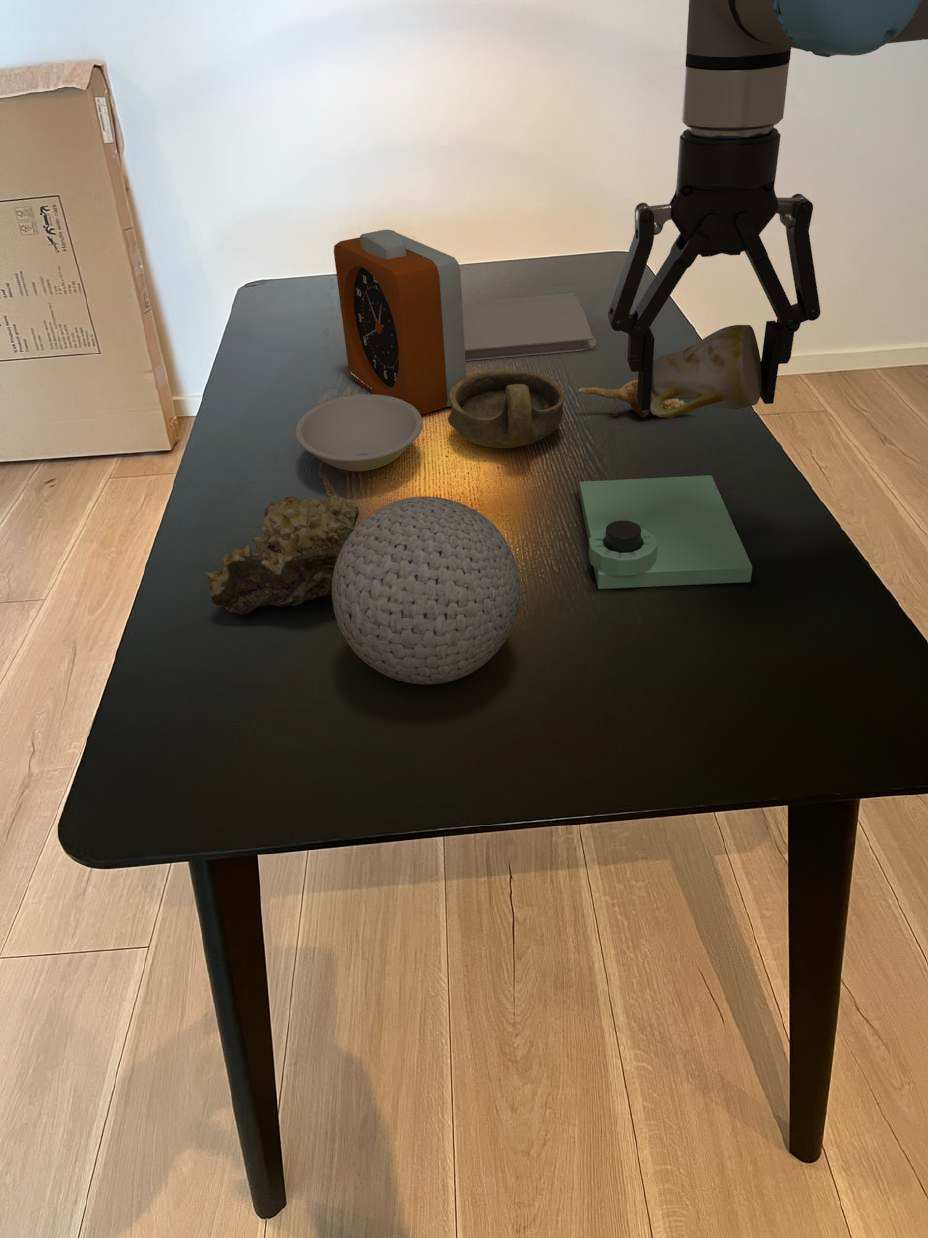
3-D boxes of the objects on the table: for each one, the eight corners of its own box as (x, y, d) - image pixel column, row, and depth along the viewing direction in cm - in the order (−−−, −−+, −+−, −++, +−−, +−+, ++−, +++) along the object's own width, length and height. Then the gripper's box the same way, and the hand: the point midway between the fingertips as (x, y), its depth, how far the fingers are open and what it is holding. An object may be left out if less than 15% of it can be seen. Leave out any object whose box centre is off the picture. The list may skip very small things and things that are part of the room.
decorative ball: (548, 632, 85) (547, 479, 76) (477, 743, 74) (467, 579, 65) (396, 598, 90) (379, 451, 82) (310, 697, 80) (280, 540, 71)
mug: (647, 383, 92) (709, 289, 87) (730, 444, 91) (799, 352, 85) (621, 393, 86) (686, 292, 81) (709, 459, 84) (782, 360, 79)
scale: (752, 585, 89) (756, 553, 87) (592, 593, 90) (593, 560, 87) (710, 489, 104) (713, 459, 102) (573, 495, 105) (574, 466, 103)
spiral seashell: (680, 401, 123) (683, 366, 121) (696, 416, 119) (698, 380, 116) (576, 414, 122) (576, 380, 119) (588, 430, 117) (588, 394, 115)
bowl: (553, 410, 123) (553, 332, 117) (581, 473, 109) (582, 388, 103) (444, 420, 122) (439, 342, 116) (458, 485, 108) (452, 400, 102)
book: (432, 327, 150) (430, 301, 148) (579, 313, 151) (580, 288, 149) (440, 363, 138) (438, 336, 135) (600, 349, 139) (601, 321, 136)
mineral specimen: (259, 543, 100) (241, 455, 94) (382, 547, 98) (371, 457, 92) (210, 627, 88) (186, 533, 83) (348, 633, 87) (334, 537, 81)
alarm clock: (347, 377, 135) (327, 222, 123) (403, 363, 139) (389, 210, 127) (410, 422, 122) (394, 253, 110) (470, 405, 125) (461, 239, 113)
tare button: (642, 553, 89) (643, 537, 88) (607, 555, 89) (608, 538, 88) (637, 535, 91) (638, 519, 90) (603, 537, 91) (603, 521, 90)
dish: (435, 491, 107) (432, 450, 104) (304, 508, 106) (297, 466, 103) (415, 425, 121) (412, 387, 118) (299, 439, 120) (293, 401, 117)
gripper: (864, 110, 77) (819, 377, 90) (576, 127, 78) (573, 390, 91) (898, 126, 71) (845, 411, 84) (586, 145, 72) (581, 425, 85)
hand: (704, 400), depth 87 cm, fingers closed on mug, 10 cm apart
